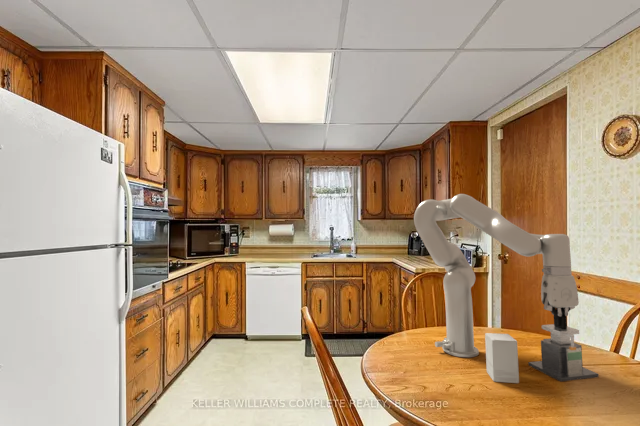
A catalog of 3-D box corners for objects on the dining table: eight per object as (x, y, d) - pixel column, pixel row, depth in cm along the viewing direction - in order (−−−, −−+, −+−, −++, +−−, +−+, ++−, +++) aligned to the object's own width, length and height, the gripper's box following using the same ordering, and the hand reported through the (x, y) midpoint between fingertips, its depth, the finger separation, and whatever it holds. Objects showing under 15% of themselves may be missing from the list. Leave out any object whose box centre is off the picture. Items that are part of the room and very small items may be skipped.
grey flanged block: (568, 364, 100) (567, 333, 100) (542, 352, 109) (541, 325, 110) (588, 362, 101) (586, 332, 102) (560, 351, 110) (559, 323, 111)
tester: (560, 381, 99) (558, 351, 99) (528, 365, 111) (527, 338, 111) (598, 377, 101) (597, 347, 102) (563, 361, 113) (562, 335, 114)
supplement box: (519, 383, 98) (518, 341, 99) (493, 381, 99) (491, 339, 100) (510, 373, 105) (509, 333, 106) (485, 371, 107) (484, 332, 107)
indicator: (571, 350, 100) (571, 347, 100) (569, 349, 101) (569, 346, 101) (576, 349, 100) (576, 347, 101) (573, 348, 101) (573, 346, 101)
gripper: (547, 273, 103) (550, 332, 102) (587, 271, 105) (591, 329, 104) (528, 270, 110) (531, 326, 109) (566, 269, 113) (569, 322, 112)
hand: (560, 327), depth 107 cm, fingers closed
